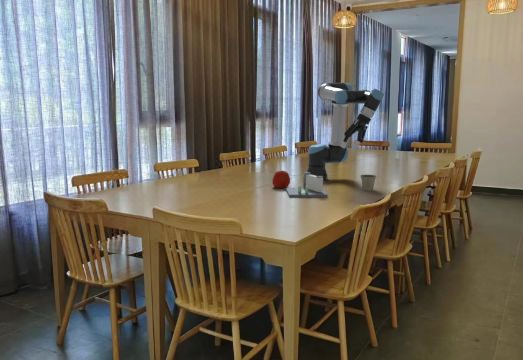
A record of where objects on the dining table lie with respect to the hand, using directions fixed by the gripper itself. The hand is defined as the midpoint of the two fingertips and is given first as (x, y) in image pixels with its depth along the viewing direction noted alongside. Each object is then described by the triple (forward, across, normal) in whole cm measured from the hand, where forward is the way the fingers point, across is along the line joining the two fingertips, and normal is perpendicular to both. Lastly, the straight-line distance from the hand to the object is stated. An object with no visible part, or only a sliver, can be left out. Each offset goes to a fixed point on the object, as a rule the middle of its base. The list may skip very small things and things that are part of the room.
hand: (347, 149), depth 257 cm
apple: (+40, -6, +25) cm, 47 cm away
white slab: (+29, -9, +3) cm, 30 cm away
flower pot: (+17, +19, -15) cm, 30 cm away
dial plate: (+32, -12, +4) cm, 35 cm away
